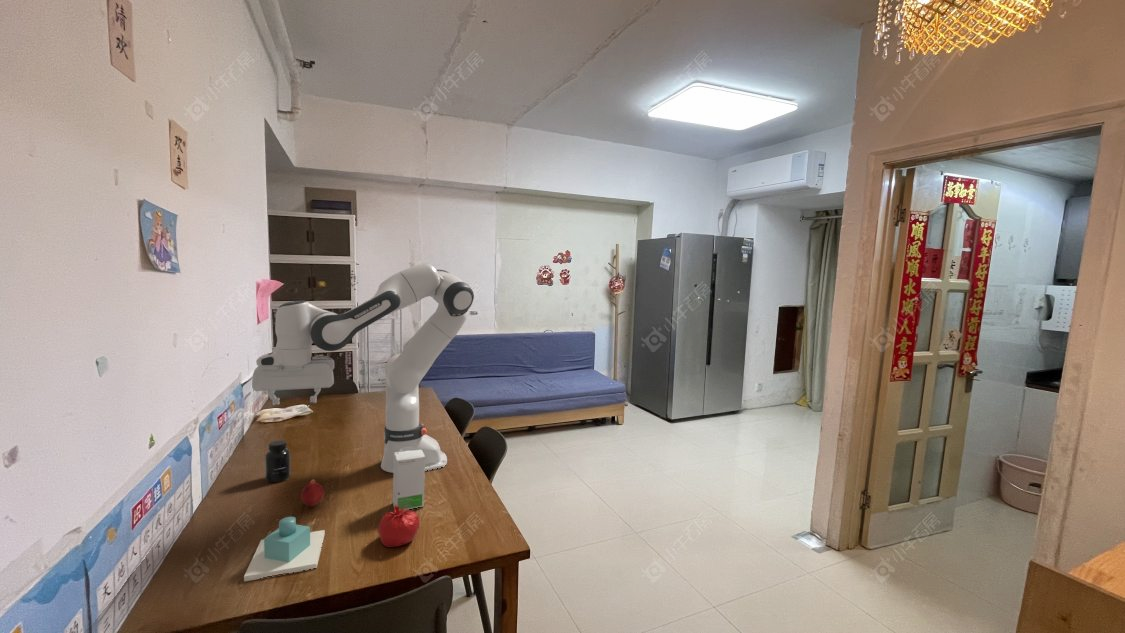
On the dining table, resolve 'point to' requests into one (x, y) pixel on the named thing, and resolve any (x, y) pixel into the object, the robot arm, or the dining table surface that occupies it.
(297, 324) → the robot arm
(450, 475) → the dining table surface
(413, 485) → the skincare box
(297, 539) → the teal knobbed block
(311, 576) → the dining table surface
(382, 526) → the pomegranate
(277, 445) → the supplement bottle
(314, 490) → the onion
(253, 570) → the post stand
